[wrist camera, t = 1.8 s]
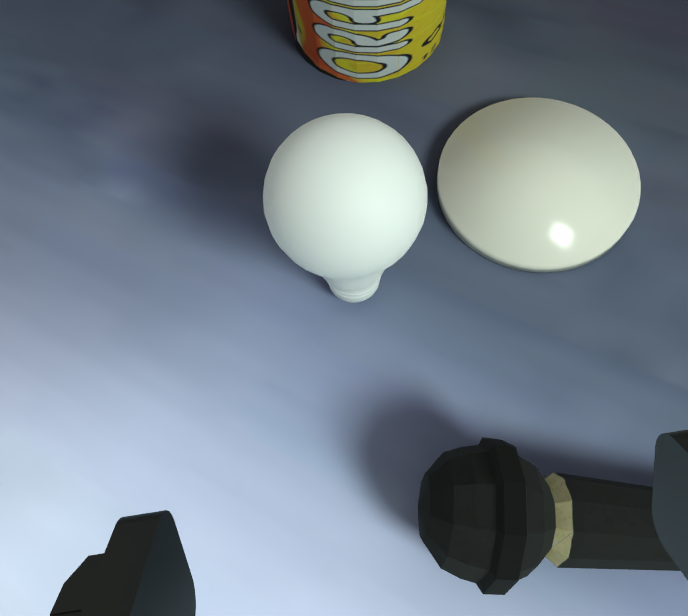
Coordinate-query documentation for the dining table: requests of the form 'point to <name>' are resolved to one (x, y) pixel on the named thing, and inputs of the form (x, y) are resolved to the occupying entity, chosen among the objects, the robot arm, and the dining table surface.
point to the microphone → (530, 519)
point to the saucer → (537, 185)
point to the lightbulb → (345, 200)
